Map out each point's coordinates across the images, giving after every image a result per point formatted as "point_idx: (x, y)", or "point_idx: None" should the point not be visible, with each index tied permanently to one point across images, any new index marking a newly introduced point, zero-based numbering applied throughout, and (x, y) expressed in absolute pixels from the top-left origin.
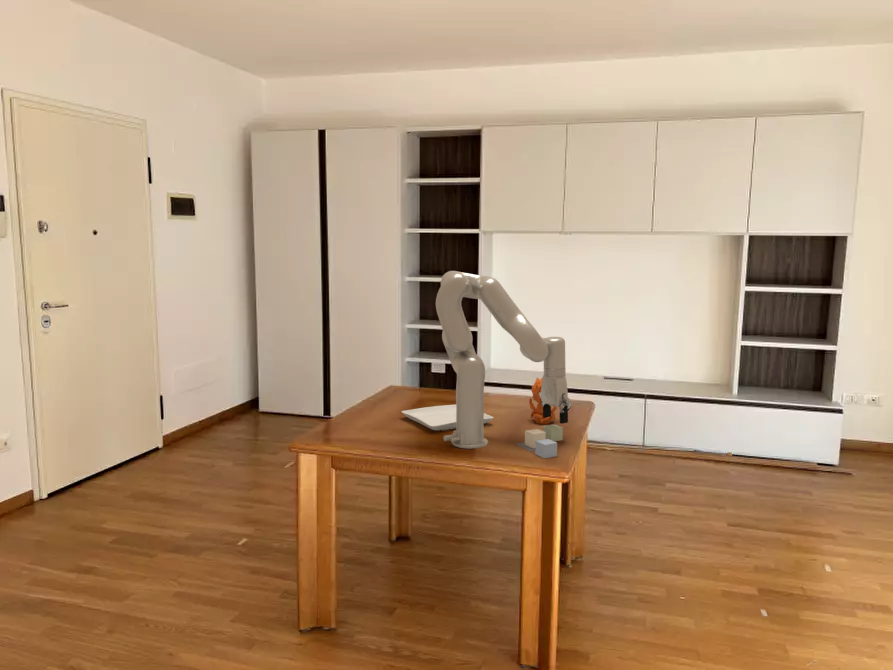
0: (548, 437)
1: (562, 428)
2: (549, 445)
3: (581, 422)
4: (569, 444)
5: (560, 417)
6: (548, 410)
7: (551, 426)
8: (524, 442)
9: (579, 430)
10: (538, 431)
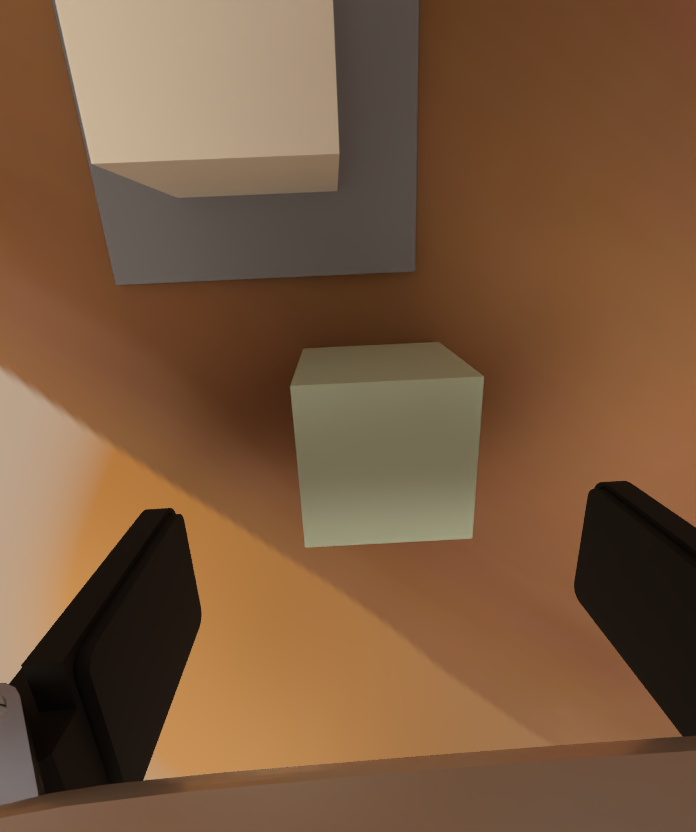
0: (344, 355)
1: (305, 537)
2: None
3: None
4: (203, 468)
5: (95, 573)
6: (651, 636)
7: (406, 462)
8: (408, 45)
9: (486, 700)
10: (169, 62)
